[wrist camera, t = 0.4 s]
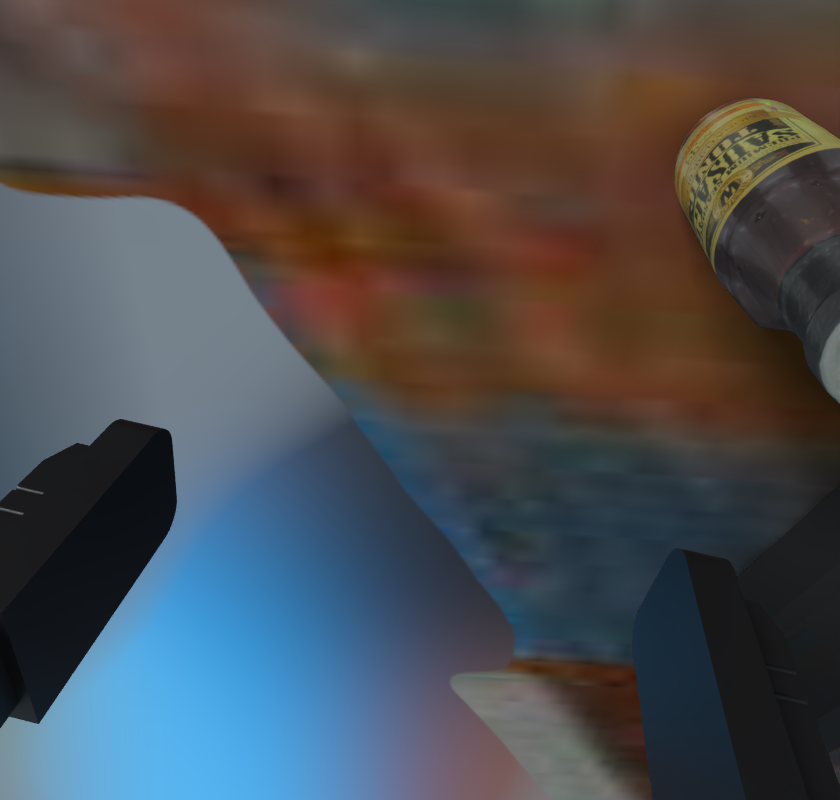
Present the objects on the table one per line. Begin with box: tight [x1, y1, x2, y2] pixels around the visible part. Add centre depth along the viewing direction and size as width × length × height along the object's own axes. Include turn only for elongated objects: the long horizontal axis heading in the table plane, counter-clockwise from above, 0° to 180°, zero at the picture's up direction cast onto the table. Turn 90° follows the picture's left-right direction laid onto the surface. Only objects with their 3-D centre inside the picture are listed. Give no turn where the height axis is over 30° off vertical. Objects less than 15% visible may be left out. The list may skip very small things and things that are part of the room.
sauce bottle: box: [674, 98, 840, 404], centre depth 25 cm, size 6×6×20 cm
